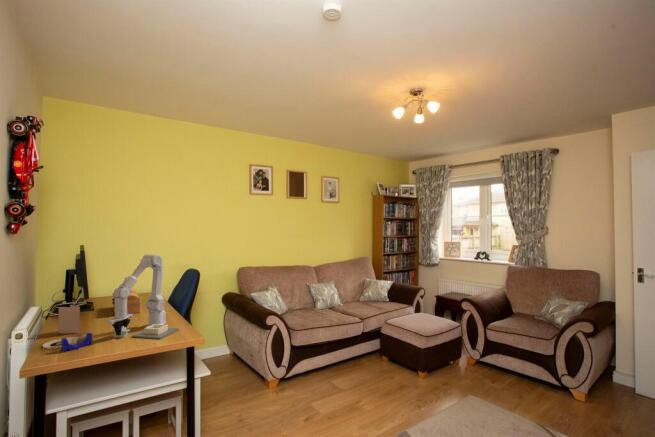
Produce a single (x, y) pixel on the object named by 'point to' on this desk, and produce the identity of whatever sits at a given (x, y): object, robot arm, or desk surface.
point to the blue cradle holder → (69, 347)
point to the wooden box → (131, 303)
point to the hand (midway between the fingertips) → (120, 333)
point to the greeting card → (69, 319)
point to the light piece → (70, 340)
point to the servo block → (122, 332)
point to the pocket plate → (155, 332)
